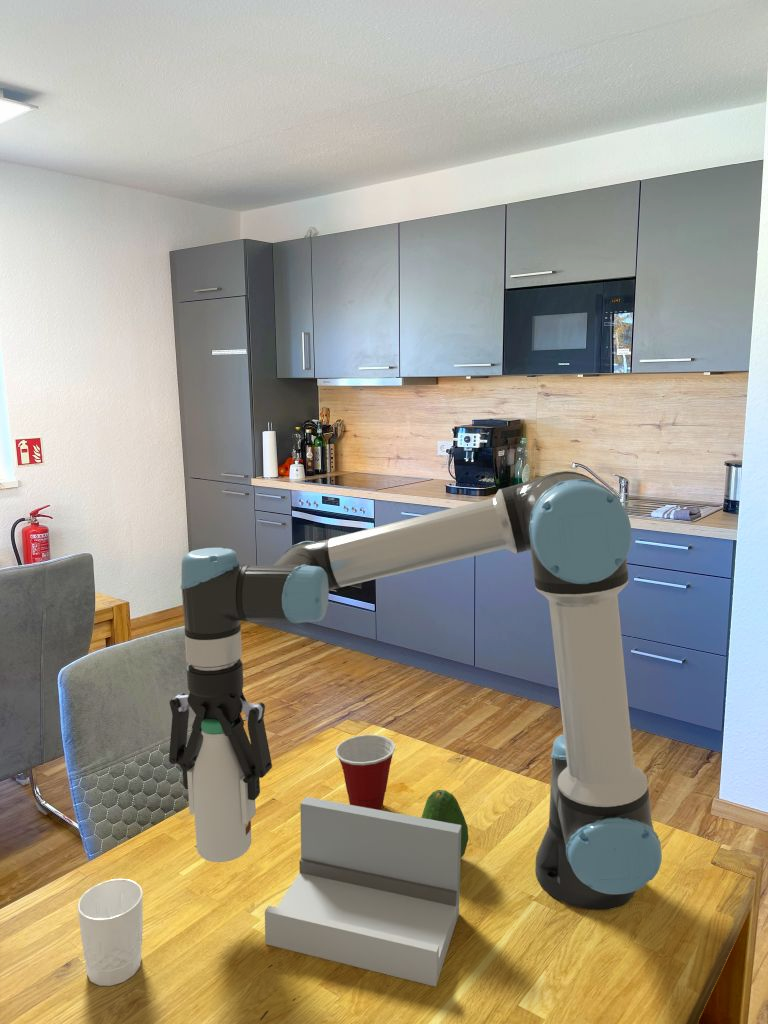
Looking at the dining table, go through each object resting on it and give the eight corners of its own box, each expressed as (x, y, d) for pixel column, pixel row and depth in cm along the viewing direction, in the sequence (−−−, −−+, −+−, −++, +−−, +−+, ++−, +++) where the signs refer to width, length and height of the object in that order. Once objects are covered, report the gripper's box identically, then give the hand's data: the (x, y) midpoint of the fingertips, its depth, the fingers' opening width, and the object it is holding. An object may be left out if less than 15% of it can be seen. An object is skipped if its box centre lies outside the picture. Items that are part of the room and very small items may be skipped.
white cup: (124, 936, 104) (121, 870, 102) (158, 964, 99) (154, 895, 97) (70, 969, 98) (65, 900, 96) (103, 1001, 93) (98, 929, 91)
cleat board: (459, 913, 109) (461, 825, 107) (435, 986, 96) (438, 887, 93) (306, 880, 116) (305, 796, 114) (265, 944, 103) (263, 850, 100)
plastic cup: (338, 791, 142) (338, 731, 140) (395, 792, 141) (396, 733, 139) (332, 824, 131) (331, 760, 129) (394, 825, 131) (394, 761, 129)
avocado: (426, 842, 126) (427, 776, 124) (472, 853, 123) (474, 785, 121) (411, 871, 118) (412, 801, 116) (460, 882, 116) (462, 811, 114)
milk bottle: (239, 867, 103) (232, 730, 100) (187, 861, 105) (178, 726, 101) (259, 834, 111) (253, 706, 107) (210, 829, 112) (203, 703, 109)
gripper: (294, 658, 104) (299, 811, 107) (165, 645, 110) (174, 790, 113) (270, 678, 96) (276, 841, 100) (134, 663, 103) (145, 816, 106)
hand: (222, 813), depth 107 cm, fingers closed on milk bottle, 8 cm apart
